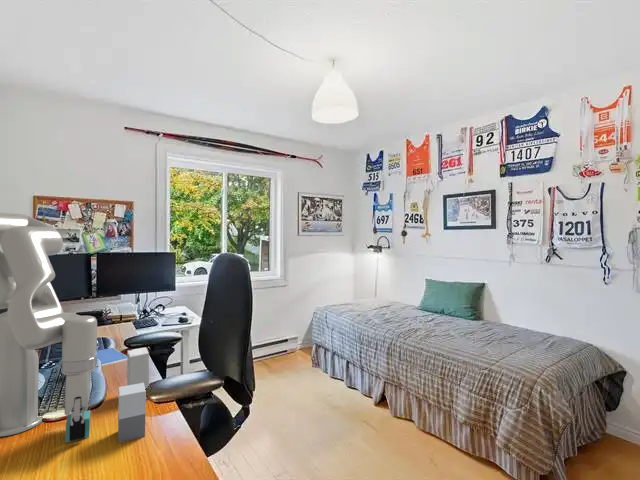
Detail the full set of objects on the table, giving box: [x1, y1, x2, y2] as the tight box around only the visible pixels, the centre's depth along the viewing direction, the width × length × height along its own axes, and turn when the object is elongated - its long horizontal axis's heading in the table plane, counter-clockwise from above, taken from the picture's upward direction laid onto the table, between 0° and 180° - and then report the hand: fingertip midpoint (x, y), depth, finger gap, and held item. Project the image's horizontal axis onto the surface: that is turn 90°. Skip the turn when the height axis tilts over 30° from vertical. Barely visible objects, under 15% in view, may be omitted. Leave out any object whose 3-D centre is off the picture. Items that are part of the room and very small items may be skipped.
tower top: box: [117, 383, 147, 419], centre depth 92 cm, size 6×6×6 cm
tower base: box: [117, 410, 146, 444], centre depth 92 cm, size 6×6×6 cm
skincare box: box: [126, 347, 150, 400], centre depth 114 cm, size 8×6×15 cm
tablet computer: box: [97, 347, 127, 367], centre depth 148 cm, size 19×13×1 cm, turn 50°
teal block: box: [65, 409, 91, 443], centre depth 91 cm, size 5×5×5 cm
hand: (78, 430), depth 91 cm, fingers open, 7 cm apart
